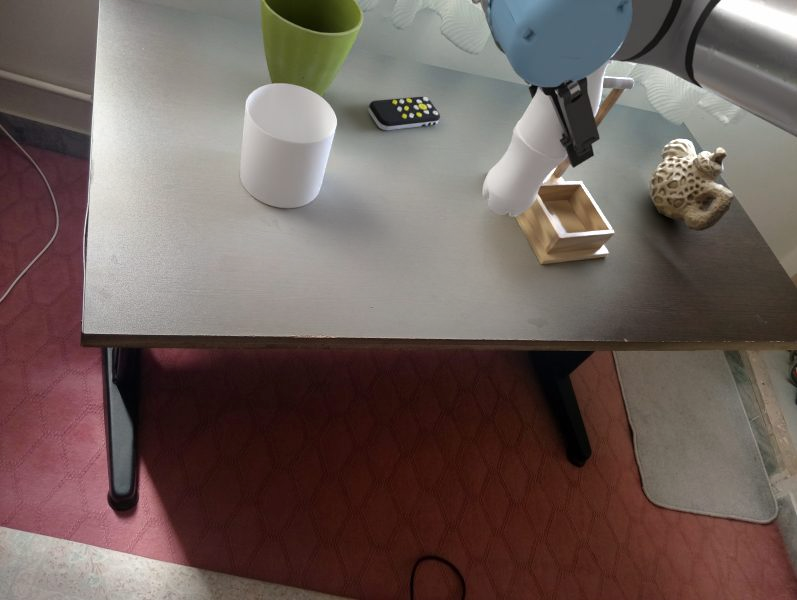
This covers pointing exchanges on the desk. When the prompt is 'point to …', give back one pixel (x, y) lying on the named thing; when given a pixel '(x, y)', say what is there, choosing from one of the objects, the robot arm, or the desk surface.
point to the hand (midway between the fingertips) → (565, 136)
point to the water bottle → (533, 152)
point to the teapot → (690, 185)
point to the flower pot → (308, 39)
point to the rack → (570, 207)
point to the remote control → (403, 113)
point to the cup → (285, 144)
